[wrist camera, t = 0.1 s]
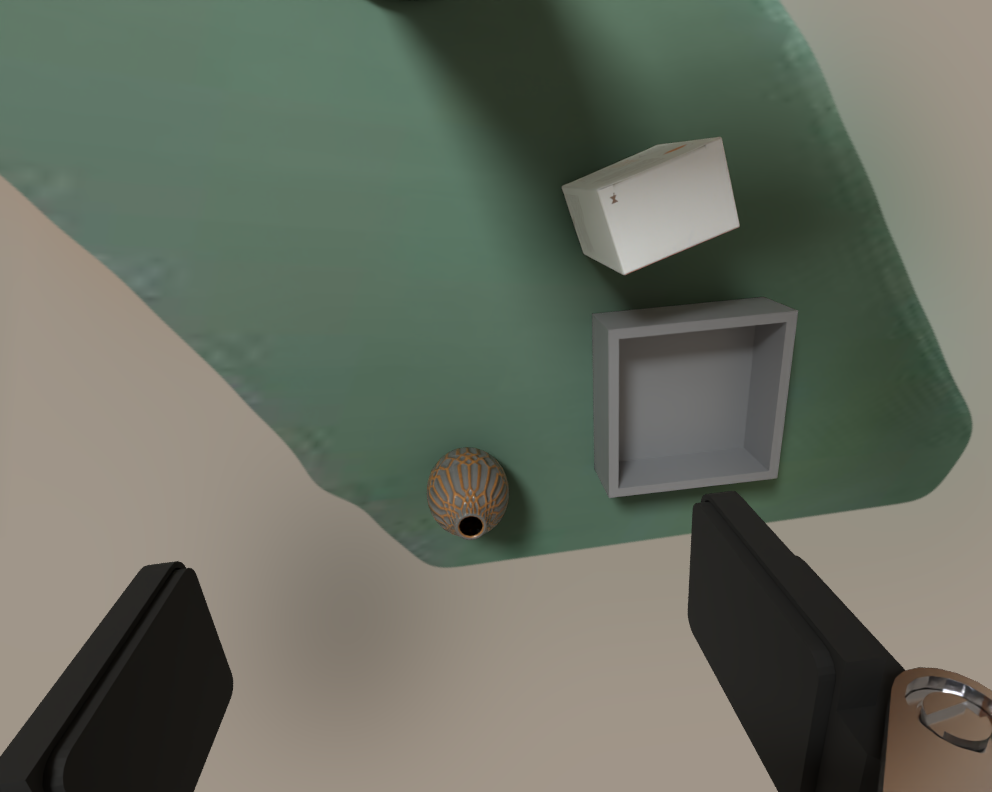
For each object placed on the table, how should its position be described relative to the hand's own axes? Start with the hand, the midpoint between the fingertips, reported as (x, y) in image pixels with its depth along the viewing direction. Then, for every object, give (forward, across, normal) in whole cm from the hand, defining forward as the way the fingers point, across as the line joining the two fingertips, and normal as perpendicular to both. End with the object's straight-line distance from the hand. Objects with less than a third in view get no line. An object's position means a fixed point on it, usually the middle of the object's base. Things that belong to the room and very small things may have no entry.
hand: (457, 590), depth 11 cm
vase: (+37, 0, +18) cm, 41 cm away
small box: (+37, -14, -4) cm, 40 cm away
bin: (+37, -19, +12) cm, 43 cm away
